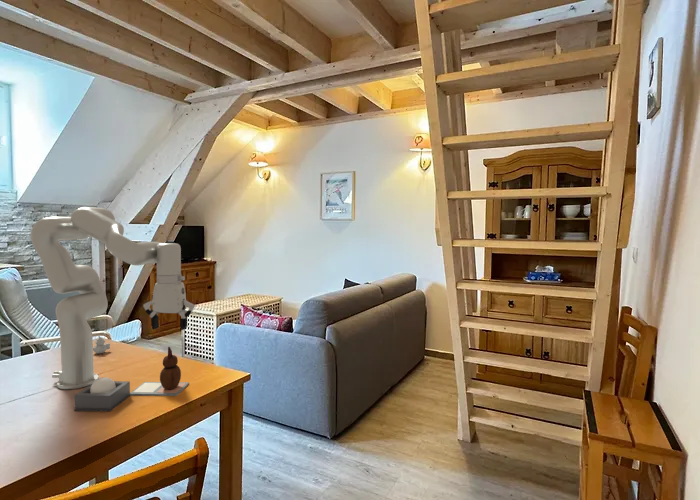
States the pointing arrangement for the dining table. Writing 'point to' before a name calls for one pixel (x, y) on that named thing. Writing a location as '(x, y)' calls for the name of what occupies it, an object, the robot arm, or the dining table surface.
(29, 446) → the dining table surface
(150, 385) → the grey flat tray
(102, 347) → the rubber duck
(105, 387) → the dome
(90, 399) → the dome housing
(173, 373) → the wooden figurine
